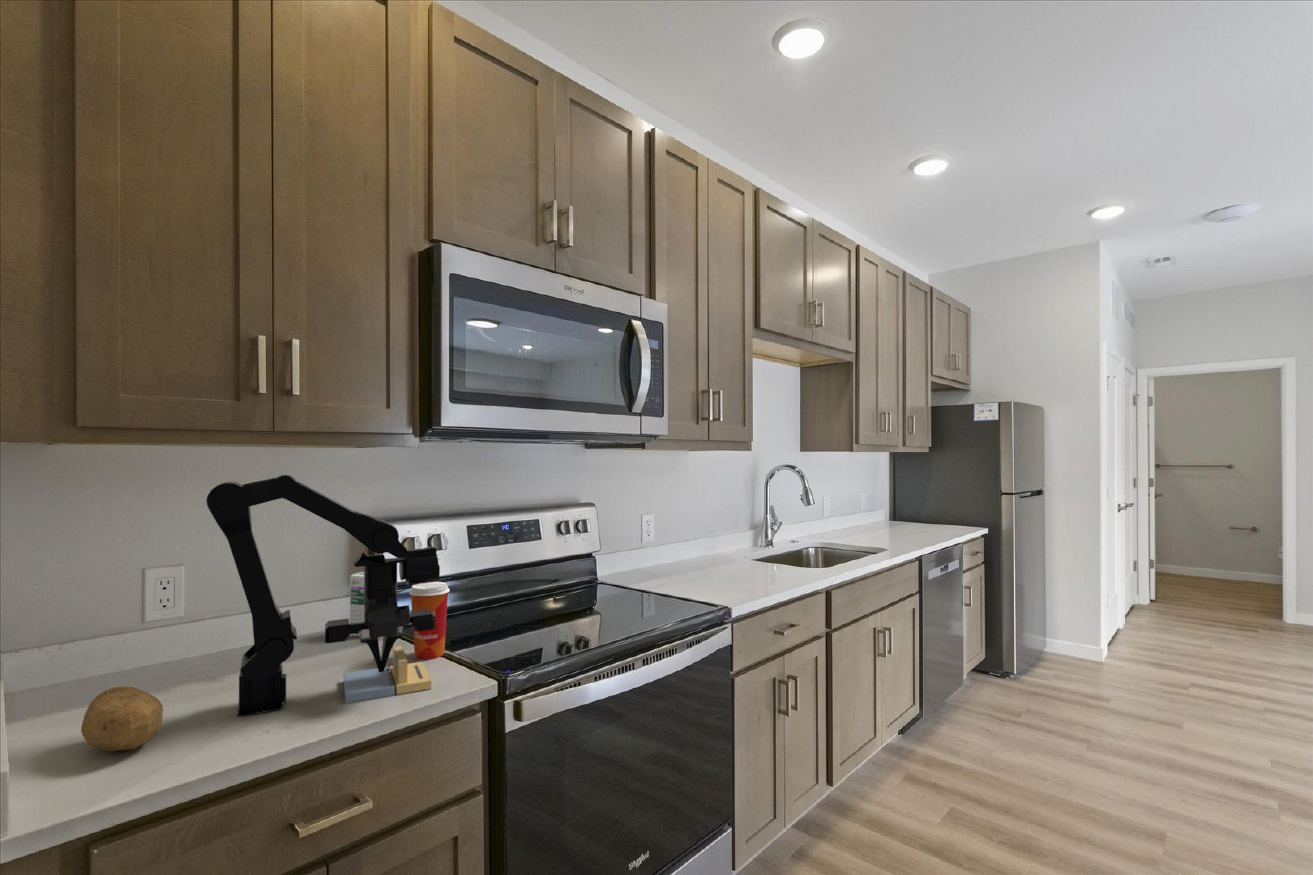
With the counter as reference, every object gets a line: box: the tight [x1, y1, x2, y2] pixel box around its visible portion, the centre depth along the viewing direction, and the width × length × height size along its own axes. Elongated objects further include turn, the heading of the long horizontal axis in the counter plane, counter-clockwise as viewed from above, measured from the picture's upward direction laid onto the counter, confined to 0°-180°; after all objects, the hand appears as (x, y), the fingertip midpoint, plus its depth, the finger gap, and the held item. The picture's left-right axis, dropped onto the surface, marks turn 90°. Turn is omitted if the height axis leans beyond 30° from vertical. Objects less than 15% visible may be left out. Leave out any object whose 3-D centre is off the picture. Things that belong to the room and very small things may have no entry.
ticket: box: [343, 666, 396, 704], centre depth 121 cm, size 8×12×2 cm, turn 27°
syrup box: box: [349, 571, 364, 637], centre depth 157 cm, size 6×6×14 cm
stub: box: [389, 645, 432, 695], centre depth 124 cm, size 6×12×6 cm, turn 27°
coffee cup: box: [408, 581, 451, 660], centre depth 140 cm, size 8×8×15 cm
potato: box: [80, 686, 164, 752], centre depth 97 cm, size 10×14×8 cm
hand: (381, 671), depth 122 cm, fingers closed
